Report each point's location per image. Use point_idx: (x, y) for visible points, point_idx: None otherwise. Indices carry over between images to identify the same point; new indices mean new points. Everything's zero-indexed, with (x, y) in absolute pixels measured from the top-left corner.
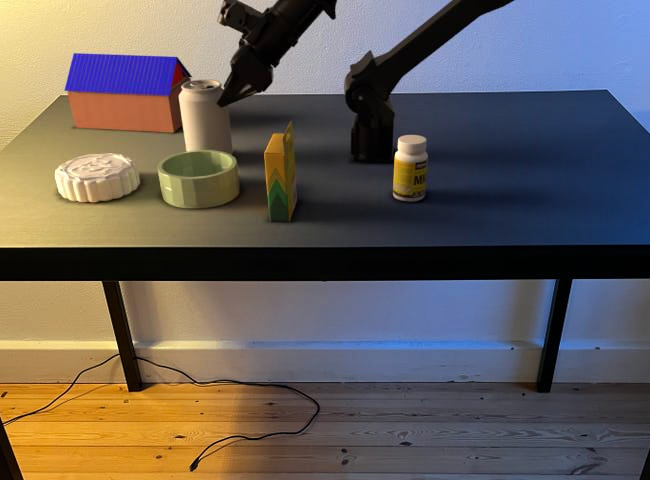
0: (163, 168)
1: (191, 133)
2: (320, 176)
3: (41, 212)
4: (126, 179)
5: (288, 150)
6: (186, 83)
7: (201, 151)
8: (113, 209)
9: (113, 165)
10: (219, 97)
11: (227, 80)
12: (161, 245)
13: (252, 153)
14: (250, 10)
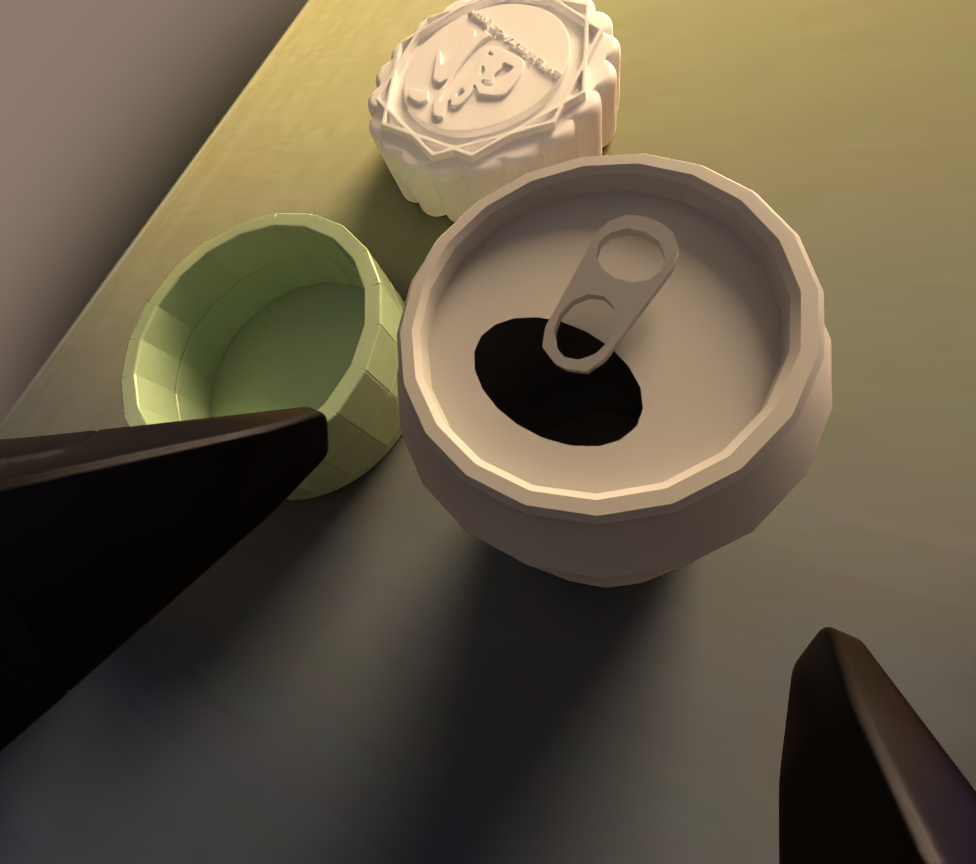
0: (315, 238)
1: (522, 348)
2: (190, 859)
3: None
4: (386, 162)
5: None
6: (714, 194)
7: (348, 369)
8: (342, 169)
9: (442, 108)
10: (252, 413)
11: (837, 692)
12: (124, 257)
13: (590, 694)
14: None
